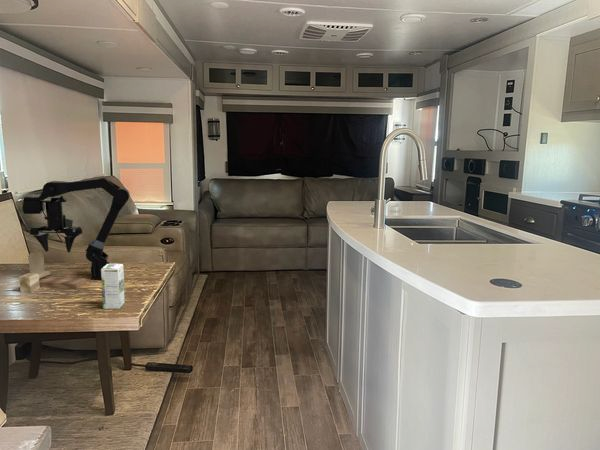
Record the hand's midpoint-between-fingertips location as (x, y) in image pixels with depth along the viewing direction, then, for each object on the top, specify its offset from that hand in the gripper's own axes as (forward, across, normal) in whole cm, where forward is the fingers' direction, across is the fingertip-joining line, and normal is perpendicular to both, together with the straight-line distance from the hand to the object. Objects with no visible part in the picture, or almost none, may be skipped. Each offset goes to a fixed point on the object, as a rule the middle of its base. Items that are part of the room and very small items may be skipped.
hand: (57, 251), depth 179 cm
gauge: (+12, +4, +8) cm, 15 cm away
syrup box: (+12, -35, +24) cm, 44 cm away
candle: (+12, +14, -6) cm, 20 cm away
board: (+12, -2, +5) cm, 13 cm away
